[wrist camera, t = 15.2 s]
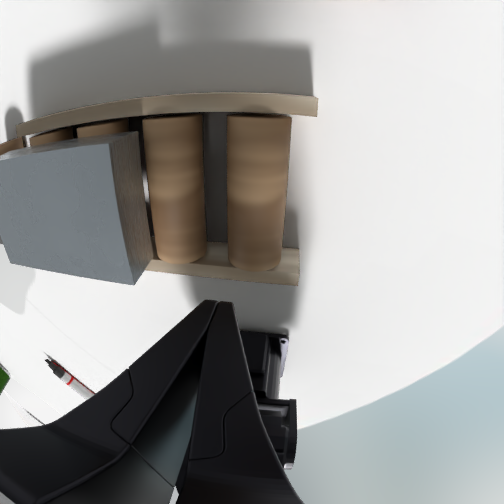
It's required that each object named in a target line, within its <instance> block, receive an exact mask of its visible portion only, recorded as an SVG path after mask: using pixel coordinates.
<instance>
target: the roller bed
mask: <svg viewBox="0 0 504 504" xmlns="http://www.w3.org/2000/svg"><path fill="white" fill-rule="evenodd" d="M317 110H318V98H317V97H314V96H304V95H292V94H278V93H256V92H207V93H185V94H171V95H159V96H150V97H141V98H133V99H126V100H119V101H112V102H106V103H101V104H95V105H90V106H85V107H80V108H76V109H71V110H67V111H63V112H58V113H54V114H51V115H47V116H43V117H40V118H36V119H33V120H30V121H27V122H24V123H21V124H18V125H16V132H17V138H18V137H22V136H26V135H30V134H34V133H38V132H42V131H46V130H51V129H55V128H59V129H55V130H51V131H48V132H44V133H41V134H39V135H36V136H34V137H31V138H30V146H35V145H40V144H45V143H50V142H56V141H62V140H68V139H74V137H73V128H72V126H70V125H76V124H81V123H87V122H93V121H100V120H106V121H100V122H96V123H92V124H88V125H84V126H81V127H79V128H77V136H78V138H81V137H88V136H96V135H104V134H113V133H123V132H129V123H128V118H122V117H131V116H141V115H152V114H166V113H178V114H167V115H159V116H153V117H148V118H145V119H143V136H144V150H145V161H146V172H147V182H148V191H149V199H150V207H151V215H152V222H153V229H154V236H155V237H150V238H151V244H152V250H153V255H154V257H153V259H152V260H151V261H150V263H149V264H148V266H147V267H146V269H145V270H148V271H156V272H164V273H173V274H182V275H191V276H200V277H209V278H219V279H229V280H239V281H249V282H260V283H271V284H282V285H294V286H298V281H299V274H300V270H299V249H295V248H284V247H282V242H283V231H284V219H285V207H286V195H287V182H288V168H289V154H290V138H291V122H292V118H291V117H289V116H284V115H277V114H265V113H278V114H292V115H303V116H313V117H317ZM184 112H259V113H238V114H230V115H227V236H228V243H224V242H212V241H207V235H206V216H205V194H204V166H203V117H202V114H200V113H184ZM114 118H119V119H114ZM107 119H112V120H107ZM65 126H68V127H65ZM60 127H63V128H60Z"/></svg>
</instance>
